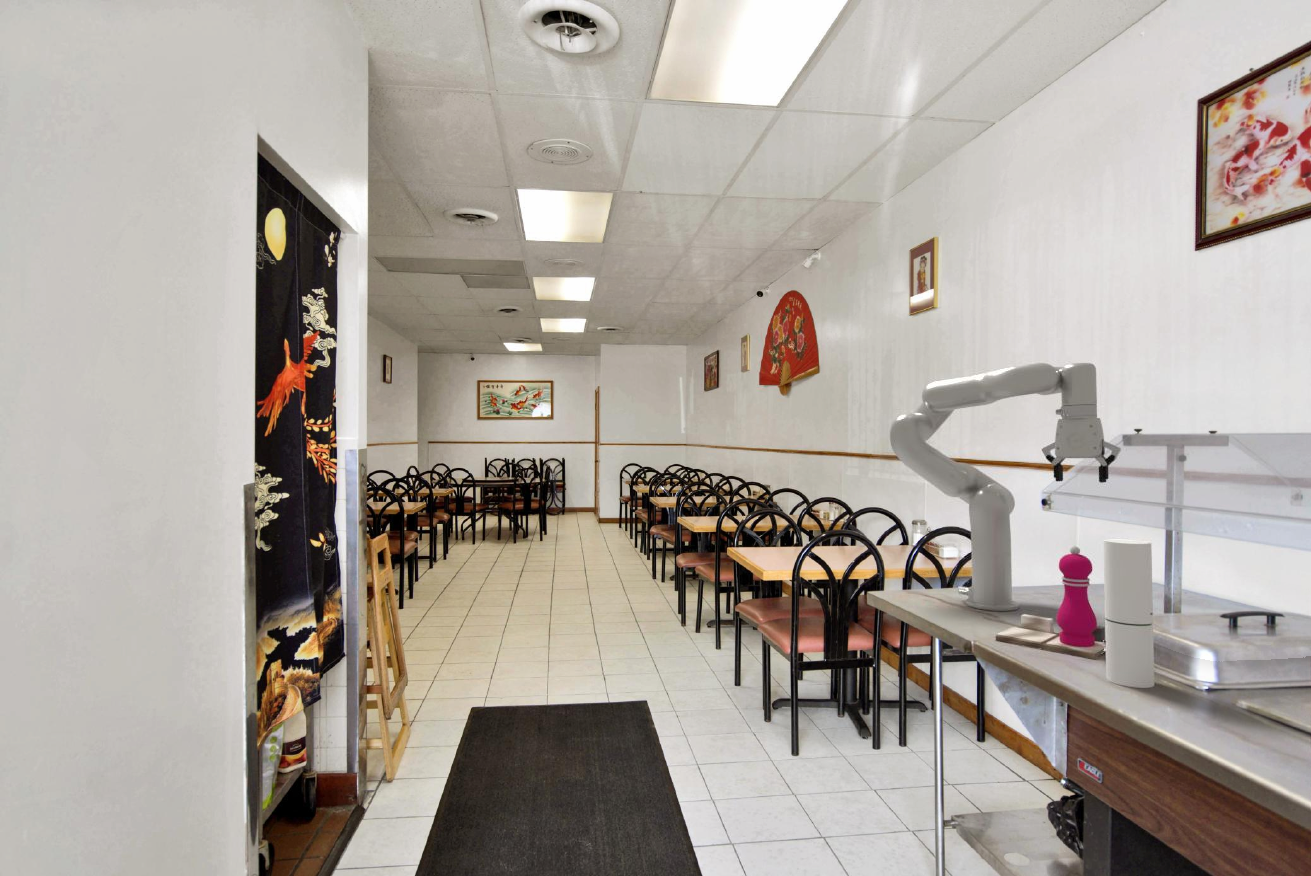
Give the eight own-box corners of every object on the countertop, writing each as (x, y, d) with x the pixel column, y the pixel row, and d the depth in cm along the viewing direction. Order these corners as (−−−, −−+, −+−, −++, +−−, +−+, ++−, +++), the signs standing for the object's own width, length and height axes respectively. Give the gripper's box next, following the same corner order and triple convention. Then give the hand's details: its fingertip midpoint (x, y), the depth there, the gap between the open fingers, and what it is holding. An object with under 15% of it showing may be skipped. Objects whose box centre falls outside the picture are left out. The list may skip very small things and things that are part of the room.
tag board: (995, 640, 152) (995, 620, 153) (1018, 630, 161) (1017, 611, 161) (1094, 659, 138) (1094, 636, 138) (1113, 647, 146) (1113, 626, 146)
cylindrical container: (1158, 681, 125) (1155, 541, 126) (1148, 690, 120) (1145, 544, 121) (1112, 672, 130) (1109, 537, 131) (1101, 681, 125) (1098, 541, 126)
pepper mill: (1105, 647, 142) (1103, 548, 142) (1069, 647, 142) (1067, 548, 142) (1084, 638, 149) (1082, 543, 149) (1049, 638, 149) (1048, 544, 149)
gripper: (1036, 414, 178) (1037, 481, 178) (1114, 411, 166) (1116, 483, 165) (1047, 415, 183) (1048, 480, 183) (1124, 411, 171) (1125, 482, 170)
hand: (1080, 481), depth 174 cm, fingers open, 9 cm apart
